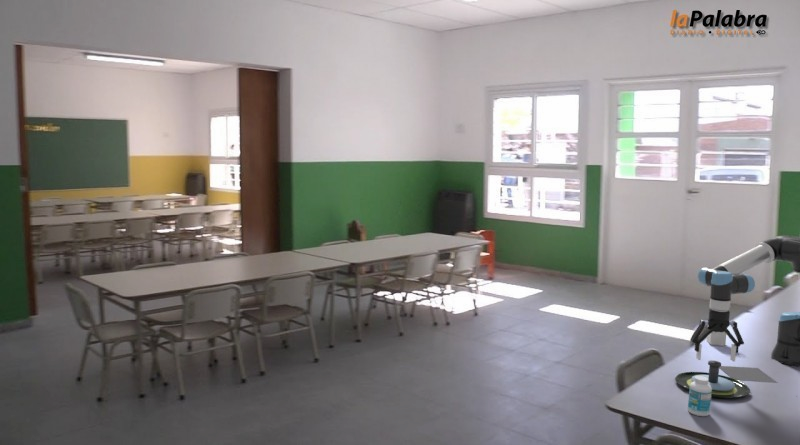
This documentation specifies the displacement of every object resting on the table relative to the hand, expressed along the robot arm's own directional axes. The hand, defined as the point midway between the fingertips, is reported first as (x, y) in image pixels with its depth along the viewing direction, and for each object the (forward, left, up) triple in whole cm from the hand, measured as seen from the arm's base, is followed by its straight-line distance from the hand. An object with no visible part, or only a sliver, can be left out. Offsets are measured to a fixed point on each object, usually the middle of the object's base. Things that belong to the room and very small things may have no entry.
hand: (715, 359), depth 263 cm
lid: (0, 0, -10) cm, 10 cm away
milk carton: (-26, -64, -12) cm, 70 cm away
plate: (+1, 0, -13) cm, 13 cm away
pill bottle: (+16, +28, -12) cm, 34 cm away
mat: (-21, -18, -12) cm, 30 cm away
